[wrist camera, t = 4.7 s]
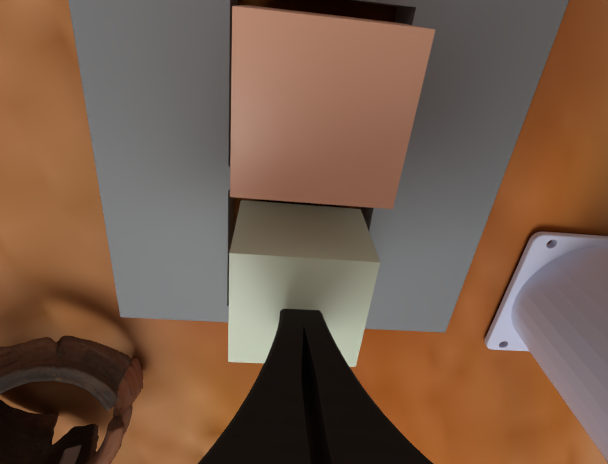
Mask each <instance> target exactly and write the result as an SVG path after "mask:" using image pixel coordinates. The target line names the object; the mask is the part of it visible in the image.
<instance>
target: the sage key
mask: <svg viewBox="0 0 608 464" xmlns="http://www.w3.org/2000/svg"><path fill="white" fill-rule="evenodd" d="M379 266H380V260H379V258H378V255H377V252H376V250H375V247H374V244H373V241H372V239H371V236H370V233H369V231H368V228H367V225H366V222H365V220H364V217H363V214H362V212H361V209H355V208H341V207H328V206H314V205H301V204H287V203H273V202H260V201H246V200H241V202H240V207H239V211H238V216H237V221H236V225H235V230H234V234H233V239H232V243H231V248H230V253H229V328H228V362H245V363H265V361H266V359H267V356H268V354H269V351H270V349H271V346H272V343H273V341H274V338H275V335H276V331H277V328H278V324H279V317H280V311H281V310H282V309H304V310H320V311H321V313H322V314H323V317H324V320H325V322H326V324H327V327H328V329H329V331H330V333H331V335H332V337H333V339H334V341H335V343H336V345H337V347H338V348H339V350H340V352H341V354H342V355H343V357H344V359H345V361H346V362H347V364H348V366H349V367H356V363H357V358H358V354H359V350H360V346H361V342H362V337H363V333H364V329H365V325H366V321H367V316H368V312H369V308H370V304H371V299H372V295H373V291H374V287H375V283H376V278H377V274H378V270H379Z"/></svg>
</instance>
